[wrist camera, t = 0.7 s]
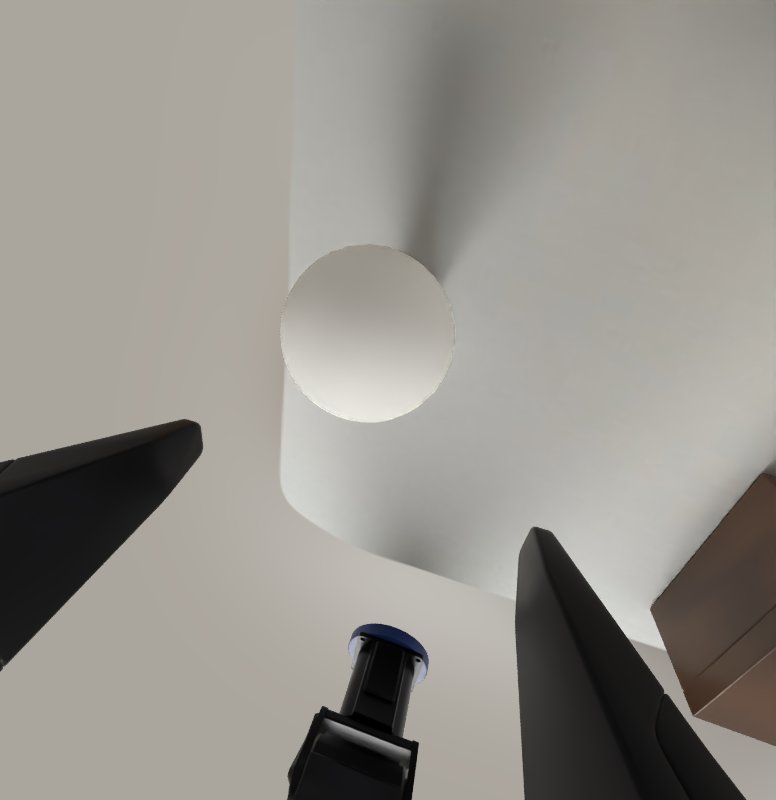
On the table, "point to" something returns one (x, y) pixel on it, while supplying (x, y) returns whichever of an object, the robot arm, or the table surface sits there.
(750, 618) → the dark wooden block
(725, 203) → the table surface
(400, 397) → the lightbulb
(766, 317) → the table surface
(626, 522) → the table surface
